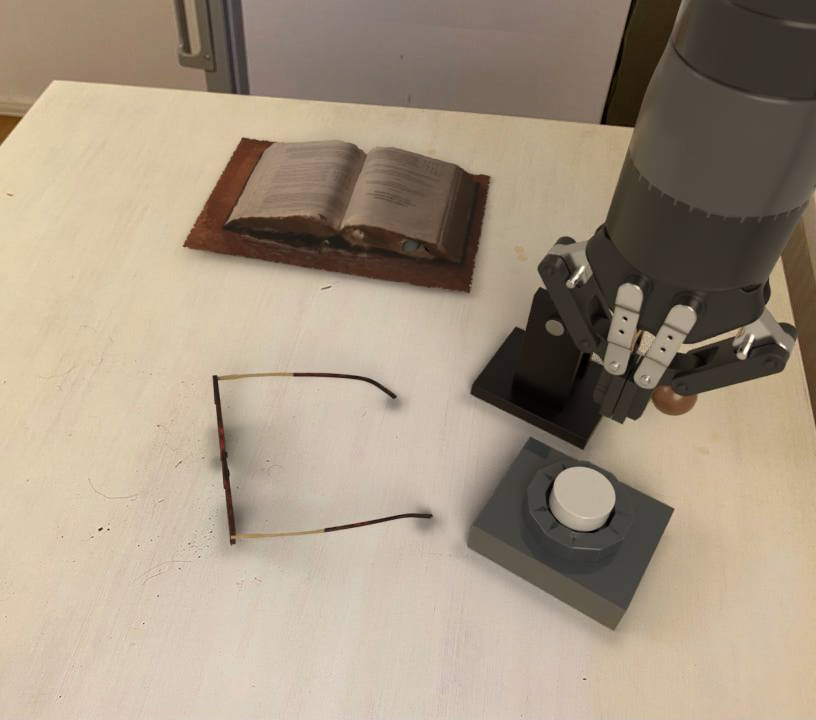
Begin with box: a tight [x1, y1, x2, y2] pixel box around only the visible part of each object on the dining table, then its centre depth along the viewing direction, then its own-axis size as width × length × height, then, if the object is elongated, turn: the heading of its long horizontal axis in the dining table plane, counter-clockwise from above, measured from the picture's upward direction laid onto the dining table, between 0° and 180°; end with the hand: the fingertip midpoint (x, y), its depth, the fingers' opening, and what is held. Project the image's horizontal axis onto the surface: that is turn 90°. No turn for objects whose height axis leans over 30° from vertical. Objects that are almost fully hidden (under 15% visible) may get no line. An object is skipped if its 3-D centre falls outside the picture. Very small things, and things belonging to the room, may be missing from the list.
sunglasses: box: [212, 372, 434, 547], centre depth 61 cm, size 14×15×5 cm
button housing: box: [467, 436, 675, 632], centre depth 56 cm, size 11×9×5 cm
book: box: [181, 136, 492, 294], centre depth 82 cm, size 20×28×4 cm
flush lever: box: [637, 349, 699, 417], centre depth 60 cm, size 13×3×3 cm, turn 56°
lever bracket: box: [470, 274, 605, 451], centre depth 63 cm, size 10×8×12 cm
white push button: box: [549, 467, 616, 531], centre depth 54 cm, size 4×4×2 cm
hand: (616, 409), depth 47 cm, fingers closed
